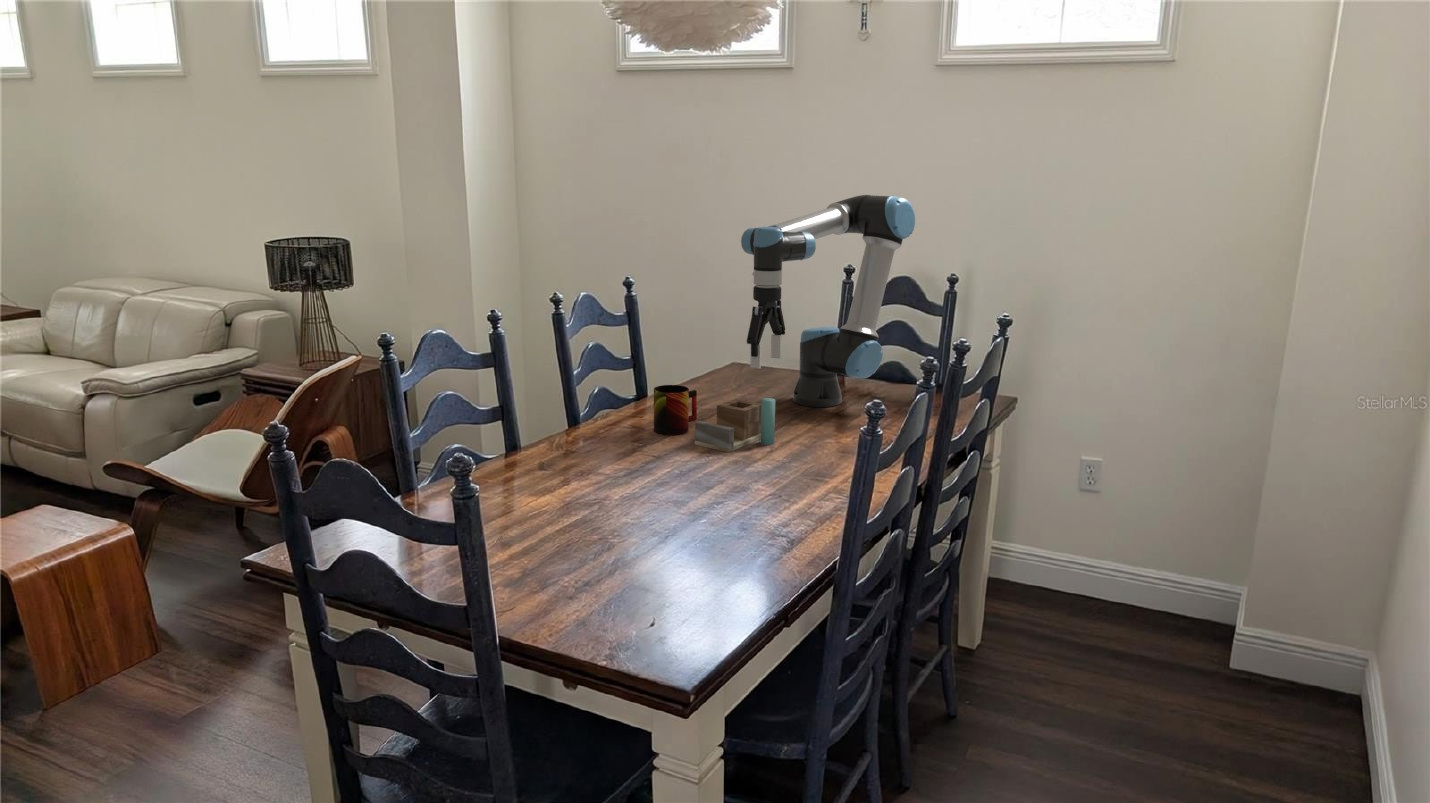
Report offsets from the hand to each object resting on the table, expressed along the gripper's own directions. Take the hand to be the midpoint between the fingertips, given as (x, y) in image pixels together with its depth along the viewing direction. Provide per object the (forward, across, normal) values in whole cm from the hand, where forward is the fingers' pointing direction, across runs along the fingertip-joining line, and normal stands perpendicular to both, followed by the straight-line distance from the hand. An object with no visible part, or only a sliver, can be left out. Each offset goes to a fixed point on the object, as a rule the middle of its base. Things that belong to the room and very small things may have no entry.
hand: (766, 363), depth 274 cm
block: (+18, +9, -4) cm, 21 cm away
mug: (+19, +11, -23) cm, 32 cm away
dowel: (+19, +10, +5) cm, 23 cm away
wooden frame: (+19, +12, -4) cm, 23 cm away
